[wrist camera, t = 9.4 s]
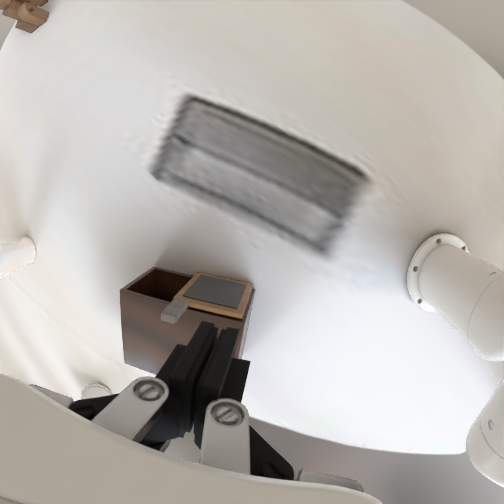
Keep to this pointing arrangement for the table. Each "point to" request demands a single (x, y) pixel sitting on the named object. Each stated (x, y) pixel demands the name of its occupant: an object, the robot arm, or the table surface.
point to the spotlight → (95, 391)
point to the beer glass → (16, 255)
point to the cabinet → (161, 332)
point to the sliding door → (210, 297)
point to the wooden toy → (25, 13)
